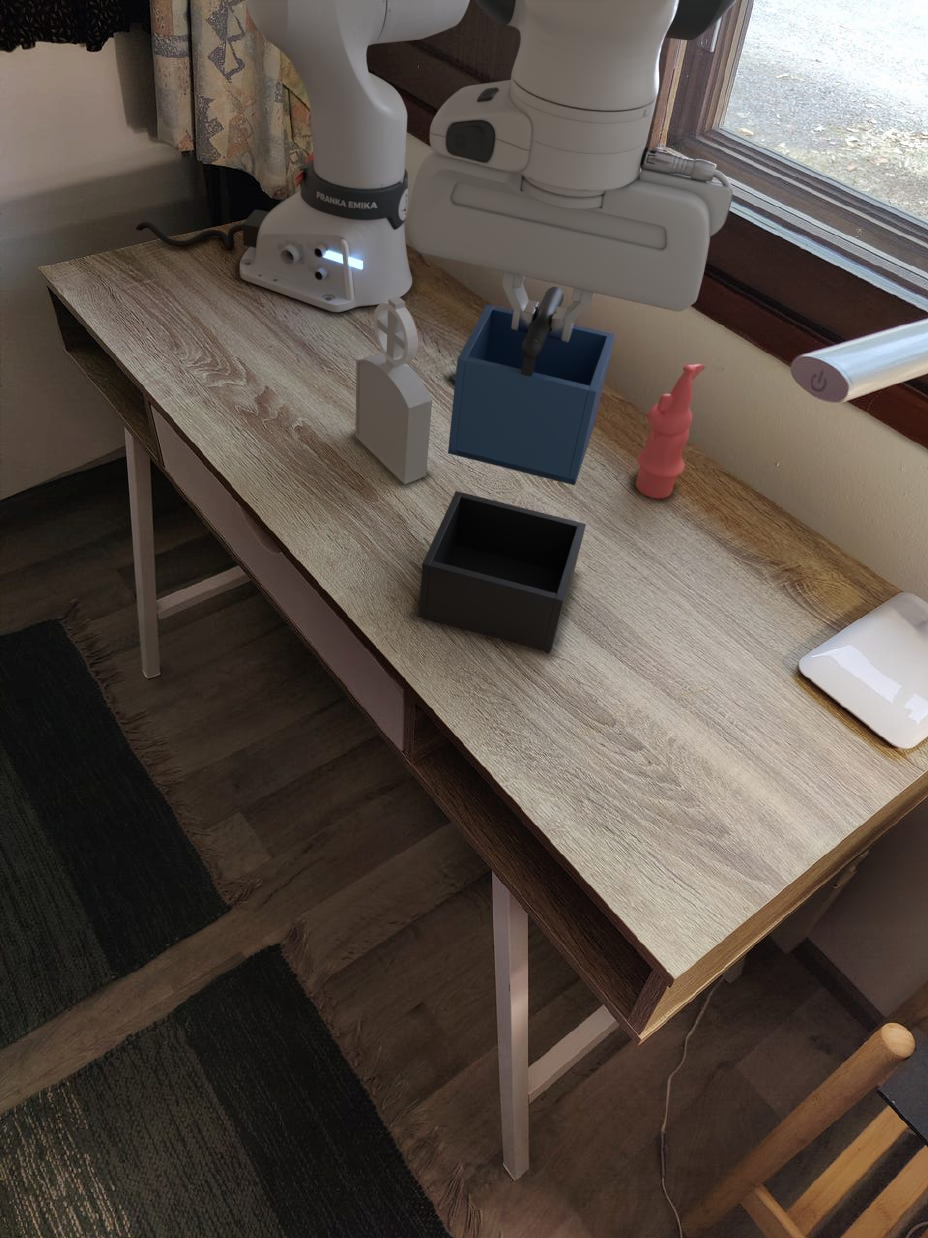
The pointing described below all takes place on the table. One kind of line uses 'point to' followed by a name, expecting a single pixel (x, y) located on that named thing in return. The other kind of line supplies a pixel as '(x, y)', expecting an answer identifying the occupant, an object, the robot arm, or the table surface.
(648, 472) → the figurine
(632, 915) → the table surface
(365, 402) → the gravestone
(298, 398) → the table surface
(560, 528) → the charcoal bin
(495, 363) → the blue bin
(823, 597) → the table surface
